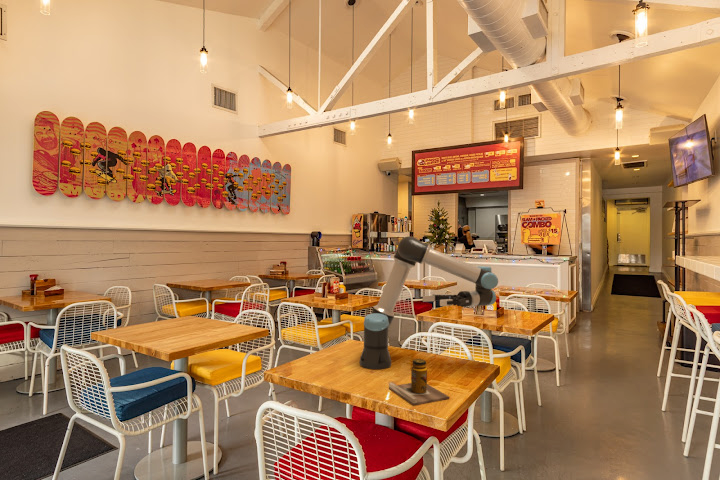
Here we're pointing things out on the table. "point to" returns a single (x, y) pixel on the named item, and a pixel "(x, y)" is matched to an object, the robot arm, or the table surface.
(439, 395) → the dock board
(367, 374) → the table surface
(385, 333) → the robot arm
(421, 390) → the condiment
